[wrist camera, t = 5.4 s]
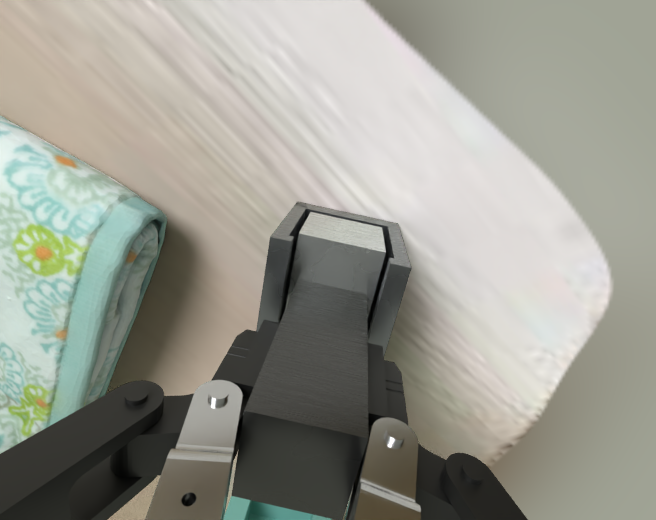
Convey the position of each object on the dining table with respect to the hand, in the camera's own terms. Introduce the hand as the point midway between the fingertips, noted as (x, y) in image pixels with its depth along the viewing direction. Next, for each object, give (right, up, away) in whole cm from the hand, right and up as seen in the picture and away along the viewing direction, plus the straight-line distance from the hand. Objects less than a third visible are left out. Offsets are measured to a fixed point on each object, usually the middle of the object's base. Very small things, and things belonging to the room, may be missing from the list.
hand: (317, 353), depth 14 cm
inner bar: (0, -1, +7) cm, 7 cm away
